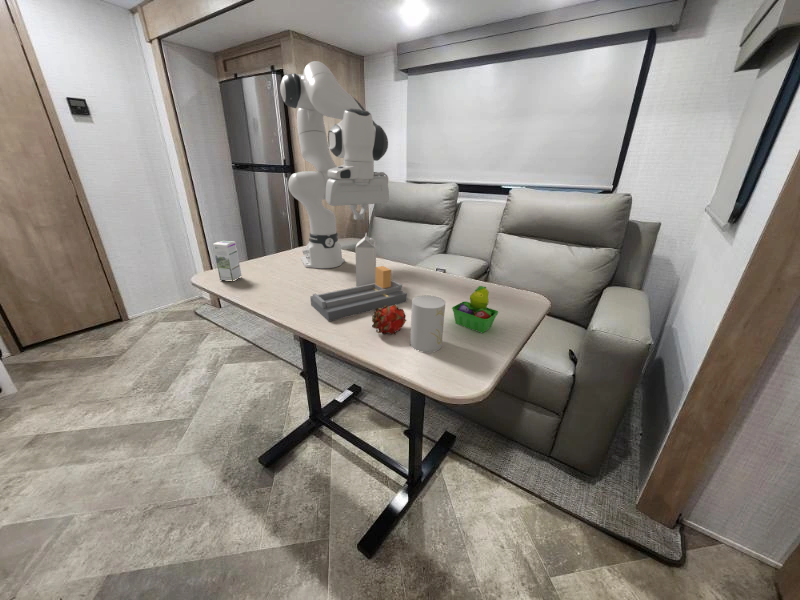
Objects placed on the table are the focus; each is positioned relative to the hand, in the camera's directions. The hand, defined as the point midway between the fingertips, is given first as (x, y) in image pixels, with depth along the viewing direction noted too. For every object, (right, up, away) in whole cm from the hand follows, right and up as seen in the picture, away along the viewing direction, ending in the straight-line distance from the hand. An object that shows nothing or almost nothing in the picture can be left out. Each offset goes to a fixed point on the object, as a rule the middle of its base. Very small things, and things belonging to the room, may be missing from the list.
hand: (358, 219), depth 101 cm
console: (0, -26, +5) cm, 27 cm away
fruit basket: (+35, -33, -7) cm, 48 cm away
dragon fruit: (+10, -34, -11) cm, 37 cm away
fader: (+7, -22, +9) cm, 24 cm away
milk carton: (0, -19, +23) cm, 30 cm away
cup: (+20, -37, -17) cm, 45 cm away
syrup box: (-52, -18, +23) cm, 60 cm away
